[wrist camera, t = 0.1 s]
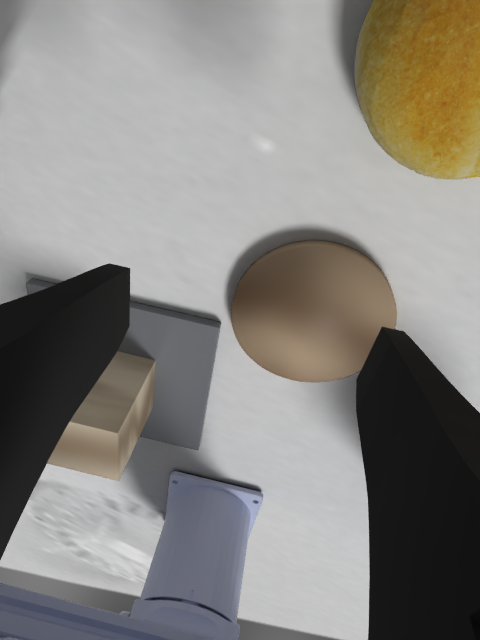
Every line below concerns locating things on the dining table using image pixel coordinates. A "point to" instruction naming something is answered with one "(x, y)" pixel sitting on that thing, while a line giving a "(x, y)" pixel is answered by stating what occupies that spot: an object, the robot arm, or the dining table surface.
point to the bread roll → (423, 83)
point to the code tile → (171, 367)
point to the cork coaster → (312, 310)
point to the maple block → (109, 419)
